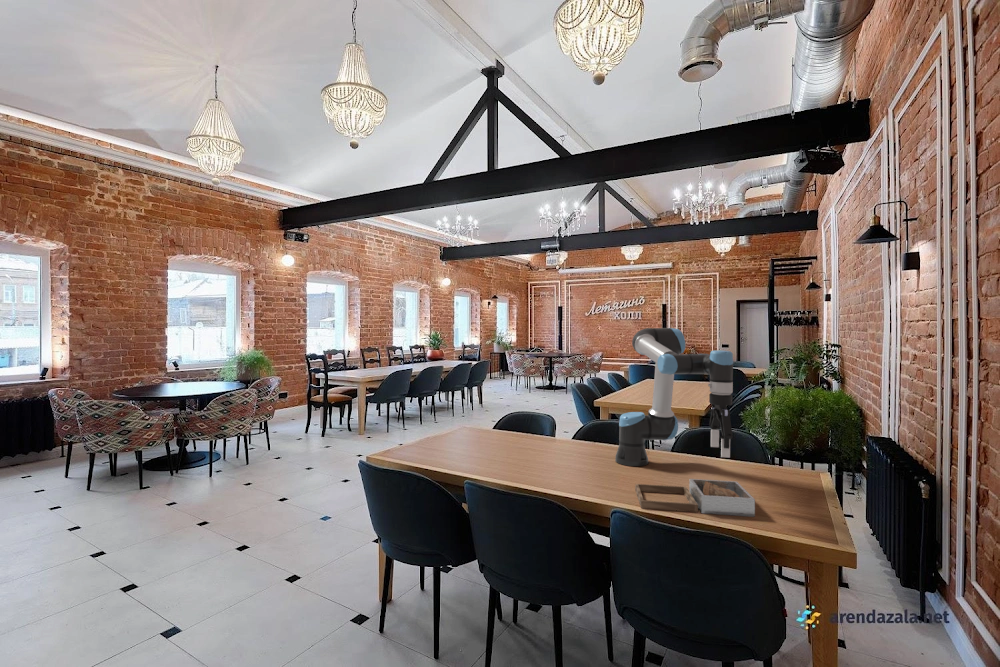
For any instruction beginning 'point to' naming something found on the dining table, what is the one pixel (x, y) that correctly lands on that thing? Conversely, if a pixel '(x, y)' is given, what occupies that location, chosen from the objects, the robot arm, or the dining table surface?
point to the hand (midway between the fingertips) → (719, 451)
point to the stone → (717, 490)
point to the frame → (662, 505)
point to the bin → (722, 499)
